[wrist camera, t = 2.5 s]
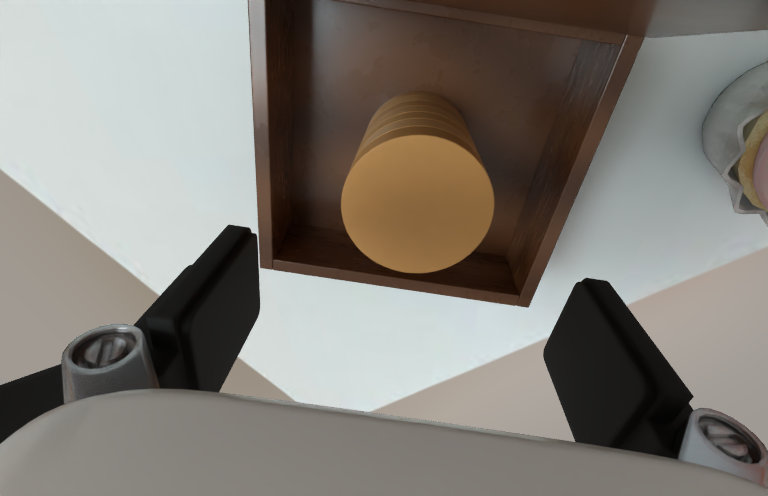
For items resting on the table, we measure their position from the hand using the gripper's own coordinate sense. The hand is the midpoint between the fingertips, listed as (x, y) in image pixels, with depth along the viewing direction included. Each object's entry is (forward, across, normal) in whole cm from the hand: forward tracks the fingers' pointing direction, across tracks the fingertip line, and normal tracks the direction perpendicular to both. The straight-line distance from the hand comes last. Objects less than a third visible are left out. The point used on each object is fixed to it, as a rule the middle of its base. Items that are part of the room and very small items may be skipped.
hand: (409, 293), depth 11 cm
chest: (+15, 0, 0) cm, 15 cm away
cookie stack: (+14, 0, 0) cm, 14 cm away
